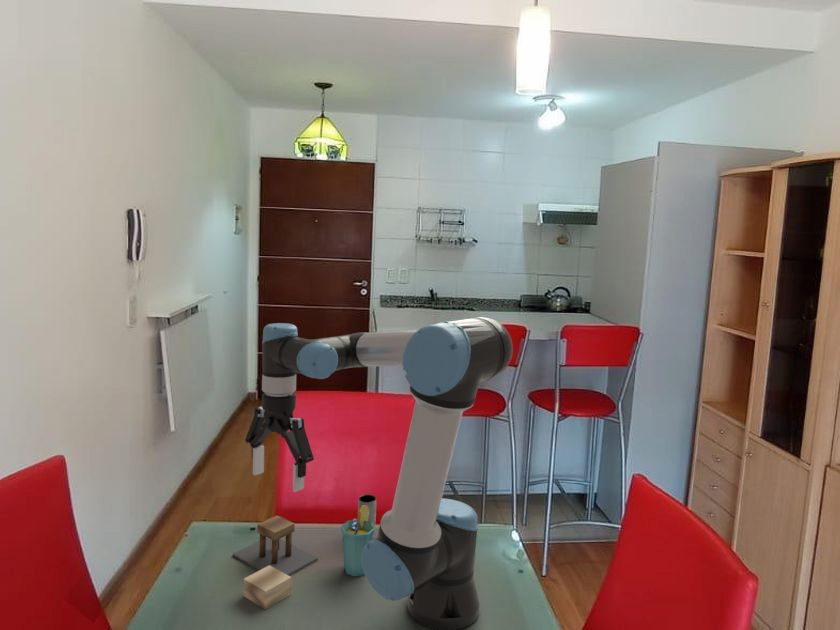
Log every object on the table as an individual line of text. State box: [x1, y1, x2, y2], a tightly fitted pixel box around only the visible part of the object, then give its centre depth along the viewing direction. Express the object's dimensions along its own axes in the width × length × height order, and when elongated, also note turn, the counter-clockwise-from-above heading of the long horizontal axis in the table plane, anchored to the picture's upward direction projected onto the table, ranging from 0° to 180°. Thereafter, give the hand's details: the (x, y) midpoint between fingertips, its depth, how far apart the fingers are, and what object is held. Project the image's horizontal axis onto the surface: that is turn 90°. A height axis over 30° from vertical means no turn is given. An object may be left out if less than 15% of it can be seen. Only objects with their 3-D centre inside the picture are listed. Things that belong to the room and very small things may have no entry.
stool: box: [256, 515, 296, 564], centre depth 150 cm, size 6×6×8 cm
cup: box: [340, 505, 376, 577], centre depth 146 cm, size 14×8×15 cm, turn 176°
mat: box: [232, 537, 319, 577], centre depth 151 cm, size 16×12×1 cm
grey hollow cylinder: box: [357, 494, 377, 539], centre depth 163 cm, size 4×4×10 cm
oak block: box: [242, 565, 292, 610], centre depth 136 cm, size 7×7×4 cm
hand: (277, 481), depth 148 cm, fingers open, 13 cm apart
